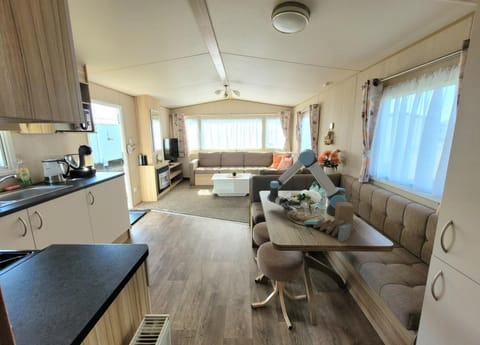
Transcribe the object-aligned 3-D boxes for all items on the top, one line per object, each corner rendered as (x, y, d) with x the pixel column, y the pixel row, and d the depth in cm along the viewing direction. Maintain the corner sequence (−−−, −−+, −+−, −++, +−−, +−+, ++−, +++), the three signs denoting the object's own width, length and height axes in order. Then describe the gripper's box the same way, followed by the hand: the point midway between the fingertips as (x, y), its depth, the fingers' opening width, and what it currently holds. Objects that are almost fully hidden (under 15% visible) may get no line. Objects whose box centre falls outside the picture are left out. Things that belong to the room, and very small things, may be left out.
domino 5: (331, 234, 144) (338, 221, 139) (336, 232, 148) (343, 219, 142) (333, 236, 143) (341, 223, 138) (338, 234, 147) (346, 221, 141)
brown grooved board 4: (325, 231, 148) (335, 221, 141) (330, 229, 151) (340, 219, 144) (327, 234, 147) (337, 224, 140) (332, 231, 150) (342, 221, 143)
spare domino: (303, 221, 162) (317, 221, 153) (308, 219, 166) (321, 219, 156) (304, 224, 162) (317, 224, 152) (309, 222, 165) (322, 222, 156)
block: (351, 233, 148) (355, 207, 144) (336, 232, 150) (339, 205, 146) (347, 227, 157) (350, 202, 153) (333, 226, 159) (335, 201, 155)
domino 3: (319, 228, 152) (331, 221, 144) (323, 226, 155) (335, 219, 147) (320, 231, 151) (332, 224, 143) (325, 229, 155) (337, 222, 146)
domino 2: (312, 225, 156) (325, 221, 147) (317, 223, 160) (330, 219, 150) (313, 228, 155) (326, 224, 146) (318, 226, 159) (331, 222, 150)
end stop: (344, 236, 144) (346, 222, 142) (349, 237, 142) (350, 224, 140) (337, 239, 139) (339, 225, 137) (342, 241, 137) (343, 227, 135)
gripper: (291, 202, 191) (311, 209, 174) (271, 208, 176) (291, 217, 159) (291, 194, 189) (312, 201, 172) (271, 200, 174) (292, 207, 158)
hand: (302, 208), depth 166 cm, fingers open, 13 cm apart
